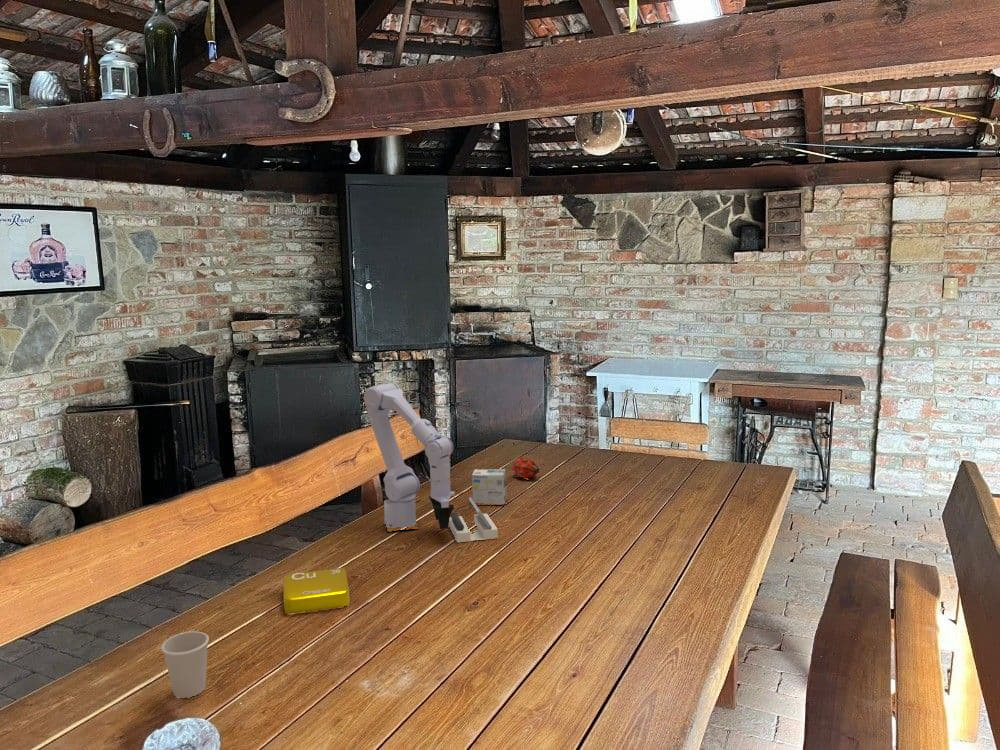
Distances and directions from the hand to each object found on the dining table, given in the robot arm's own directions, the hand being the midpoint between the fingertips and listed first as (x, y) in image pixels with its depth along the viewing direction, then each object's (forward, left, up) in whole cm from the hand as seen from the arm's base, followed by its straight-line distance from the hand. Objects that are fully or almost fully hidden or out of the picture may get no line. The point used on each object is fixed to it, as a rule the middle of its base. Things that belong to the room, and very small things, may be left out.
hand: (441, 523), depth 220 cm
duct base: (+9, 0, -4) cm, 10 cm away
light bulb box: (+20, +25, -4) cm, 32 cm away
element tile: (-36, -31, -4) cm, 48 cm away
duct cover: (+11, 0, +2) cm, 11 cm away
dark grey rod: (+5, 0, 0) cm, 5 cm away
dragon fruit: (+39, +48, -4) cm, 62 cm away
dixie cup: (-60, -65, -4) cm, 88 cm away
